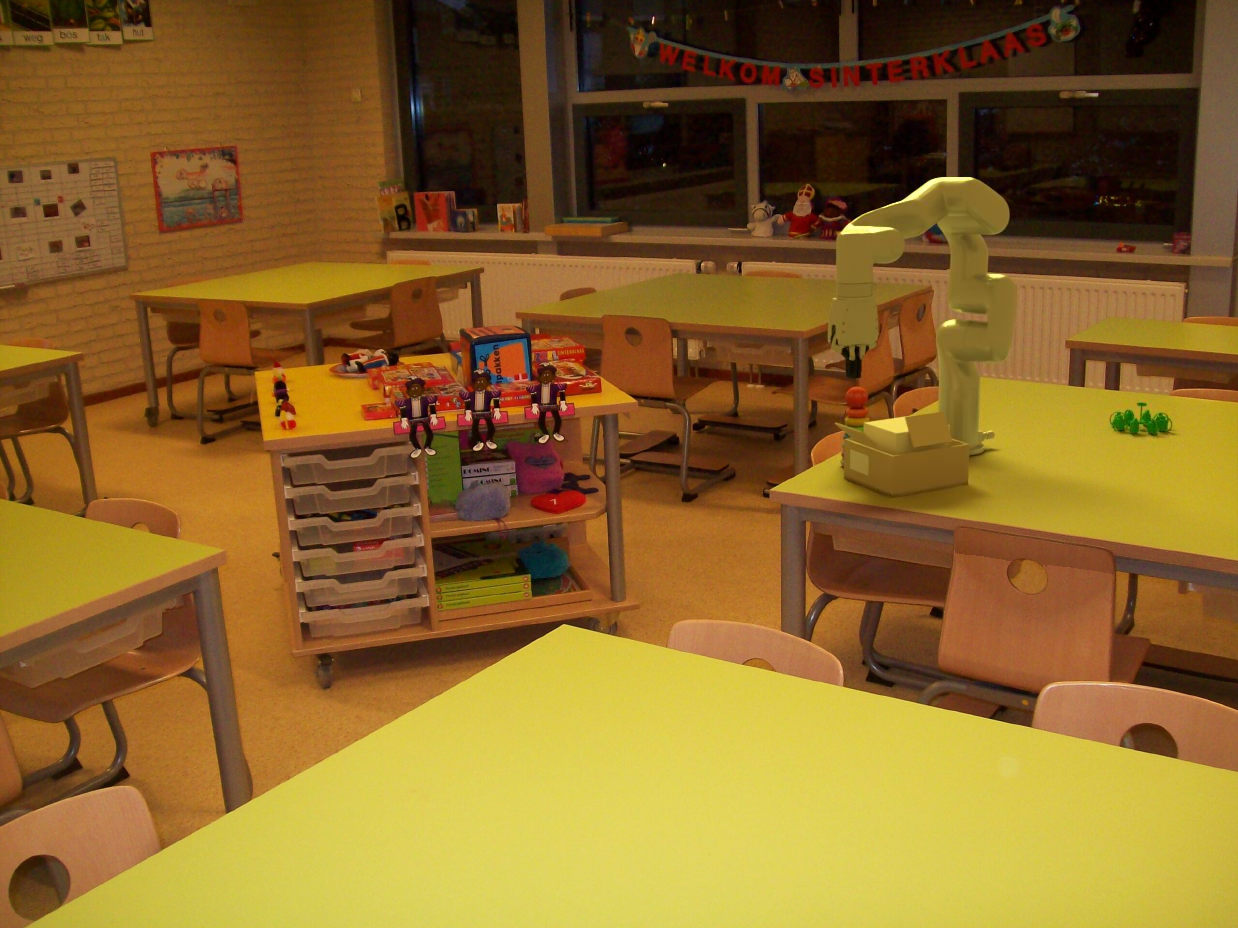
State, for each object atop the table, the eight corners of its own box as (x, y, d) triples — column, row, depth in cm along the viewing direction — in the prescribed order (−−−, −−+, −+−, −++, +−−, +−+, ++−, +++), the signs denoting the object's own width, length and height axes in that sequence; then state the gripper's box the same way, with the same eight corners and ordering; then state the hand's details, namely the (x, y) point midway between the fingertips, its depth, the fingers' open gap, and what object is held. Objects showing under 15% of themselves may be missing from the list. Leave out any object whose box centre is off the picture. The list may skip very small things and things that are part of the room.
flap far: (855, 438, 269) (854, 440, 269) (835, 422, 266) (834, 423, 266) (882, 448, 260) (881, 449, 260) (862, 431, 257) (861, 432, 257)
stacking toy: (873, 461, 288) (874, 383, 283) (876, 470, 280) (878, 390, 275) (839, 462, 288) (839, 384, 284) (841, 470, 281) (842, 390, 276)
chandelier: (1163, 439, 298) (1165, 412, 297) (1100, 433, 307) (1102, 406, 306) (1179, 427, 310) (1181, 400, 308) (1117, 421, 319) (1119, 395, 317)
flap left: (913, 447, 259) (914, 447, 259) (904, 417, 261) (905, 416, 260) (951, 441, 263) (952, 441, 263) (942, 411, 264) (944, 411, 264)
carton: (917, 465, 283) (919, 410, 280) (970, 483, 266) (972, 425, 263) (842, 477, 275) (842, 421, 272) (891, 497, 259) (892, 438, 255)
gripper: (873, 286, 260) (872, 371, 265) (813, 292, 255) (813, 378, 259) (894, 289, 254) (893, 376, 258) (834, 295, 248) (833, 384, 253)
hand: (853, 377), depth 259 cm, fingers closed
